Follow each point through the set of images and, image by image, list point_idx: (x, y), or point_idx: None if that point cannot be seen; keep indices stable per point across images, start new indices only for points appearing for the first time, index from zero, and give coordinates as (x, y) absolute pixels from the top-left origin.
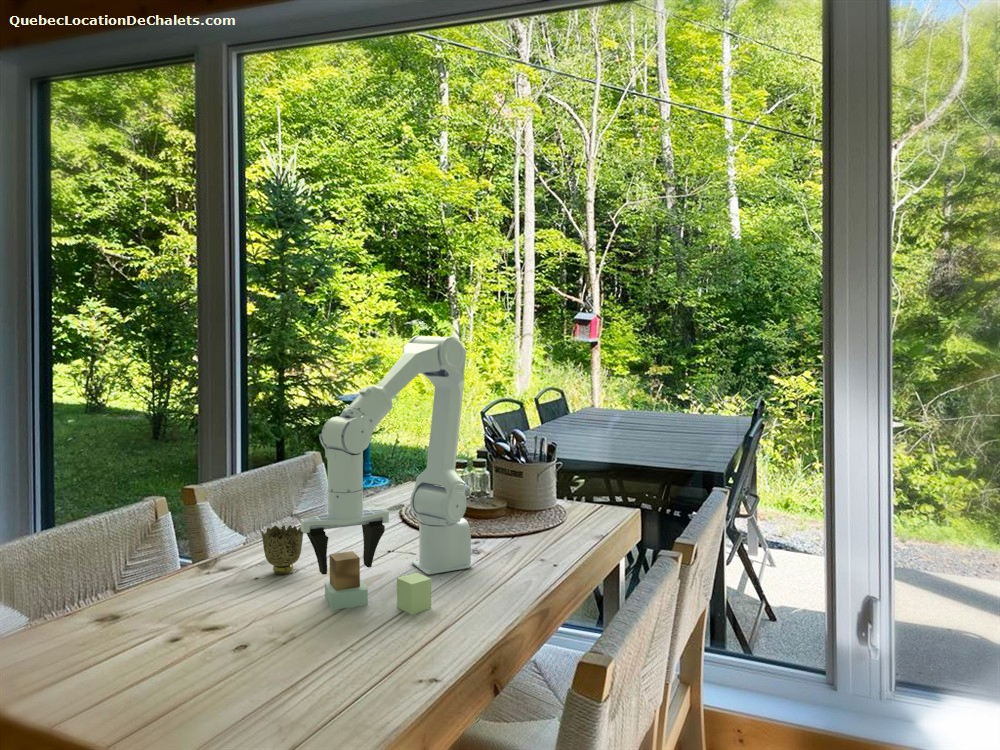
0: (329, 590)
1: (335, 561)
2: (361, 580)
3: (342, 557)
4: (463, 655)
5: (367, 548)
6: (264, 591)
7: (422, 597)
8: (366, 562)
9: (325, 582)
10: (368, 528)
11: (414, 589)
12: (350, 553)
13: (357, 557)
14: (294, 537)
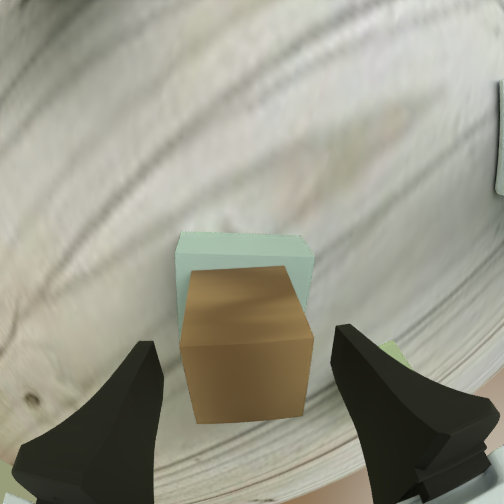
0: (179, 332)
1: (195, 417)
2: (309, 283)
3: (234, 400)
4: (326, 479)
5: (361, 404)
6: (19, 116)
7: None
8: (336, 363)
9: (176, 257)
10: (392, 493)
11: None
12: (288, 367)
13: (295, 413)
14: None
